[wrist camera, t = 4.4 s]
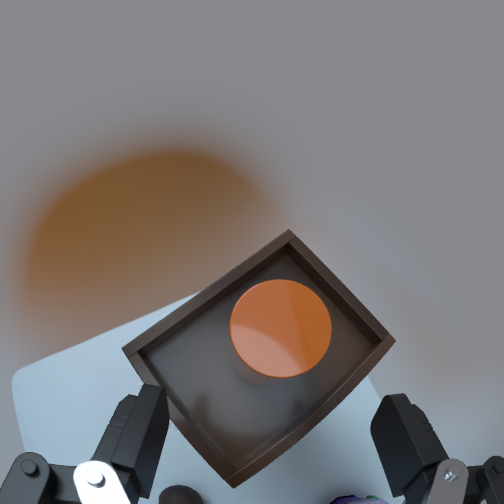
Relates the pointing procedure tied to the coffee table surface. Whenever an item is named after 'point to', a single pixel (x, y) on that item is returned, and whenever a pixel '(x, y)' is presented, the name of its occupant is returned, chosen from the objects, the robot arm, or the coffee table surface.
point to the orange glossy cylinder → (278, 332)
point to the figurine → (179, 495)
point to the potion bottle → (358, 500)
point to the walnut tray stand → (238, 390)
